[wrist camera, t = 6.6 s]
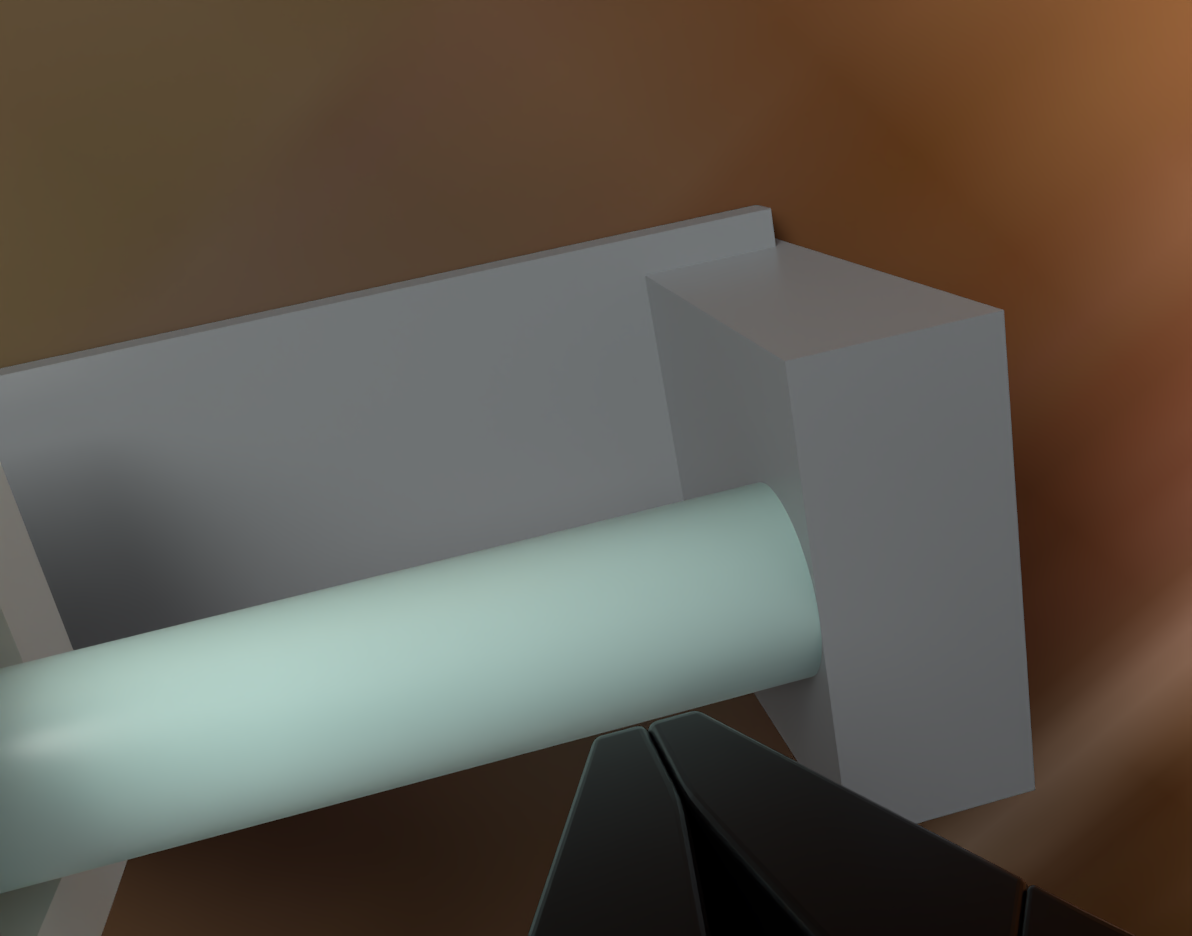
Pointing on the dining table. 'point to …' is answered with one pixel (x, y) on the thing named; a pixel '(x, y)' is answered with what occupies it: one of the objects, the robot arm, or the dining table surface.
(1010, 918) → the robot arm
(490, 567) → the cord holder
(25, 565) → the sleeve
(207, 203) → the dining table surface
